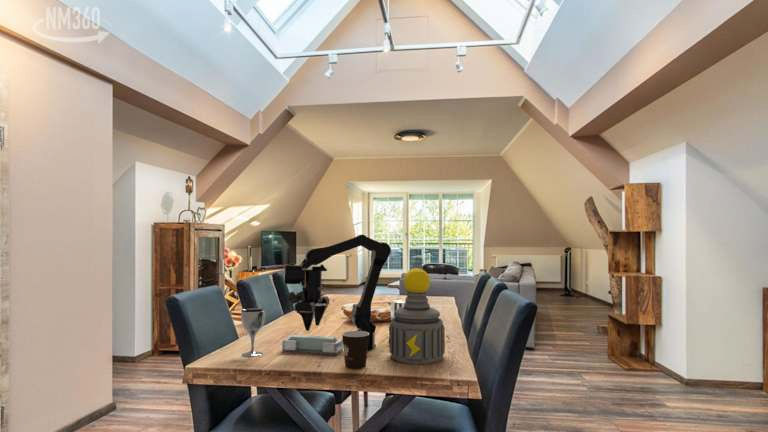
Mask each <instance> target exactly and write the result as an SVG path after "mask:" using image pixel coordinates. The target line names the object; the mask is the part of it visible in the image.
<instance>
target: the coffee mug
mask: <svg viewBox="0 0 768 432" xmlns="http://www.w3.org/2000/svg"><path fill="white" fill-rule="evenodd" d="M341 335H342V338H341V339H343V356H344V367H345V368H346V369H349V370H361V369H364V368H366V366H367V365H366V364H367V360H368V359H367V357H368V351H369V350H368V342H369V333H368V332H364V331H357V330H350V331H349V330H348V331H345V332H343V333H341Z"/></svg>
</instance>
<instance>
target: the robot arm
mask: <svg viewBox="0 0 768 432" xmlns="http://www.w3.org/2000/svg"><path fill="white" fill-rule="evenodd" d="M358 247H362V248H365V249H366V250H368V251H369V252H371V253H370V265H369V269H368V272H367V276H366V279H365V283H364V285H363V289H362V293H361V295H360V299H359V301H358V303H357V304H355V303H353V304H352V309H351V312H350V313H349V315H350V320H351V321H352V323H353V324H354V325H355V326H356V329H357V330H356V331H364V332H368V333H369V342H368V350H367V351H373V349H374V348H375V347H377V344H376V343H375V342H376V341H375V340H376V339H375V338H376V336H375V334H376V333H375V332H376V328H377V326H376V325H375V324H374V323H373V322H372V321H371V318H372V303H373V298H374V295H375V292H376V289H377V285H378V282H379V278H380V276H381V272H382V268H383V267H384V266H385V264H386V262H387V261H388V260H389V259H388V258H389V257H390V254H391V252H392V250H391V246H390V245H389V244H388V243H387V242H383V241H380V242H379V241H377V240H374V239H373V238H371V237H369V236H367V235H365V234H358V235H356V236H354V237H351V238H347V239H346V240H343V241H340V242H337V243H334V244H331V245H327V246H321V247H314V248H309V249H308V250H307V251H306V252H305V254H304V259H303V260H302V261H301V263H300V264H298V265H297V264H295V265H290V264H285V265H284V273H283V284H284V285H301V282H305V283H304V286H303V287H302V290H301V291H299V292H296V291H295V290H294V291H291V292H289V294H288V298H287V301H289V302H290V304H291V305H294V312H296V313H297V314H298V315H300V316H301V318H302V322H303V325H304V328H305V331H307V332H309V331H310V330H311V326H312V323H313V321H314V322H315V326H316V327H317V326H319V325H320V323H321V321H322V319H323V317H324V315H325V313H326V310H327V308H328V307H329V305H330V298H329V297H328V296H325V295H322V291H323V290H324V286H323V285H322V272H327V271H328V269H327V268H326V267H325V266H324V264H321V263H323V262H325V261H326V260H329V258H332V257H333V256H335V255H338V254H341V253H345V252H347V251H349V250H352V249H355V248H358ZM317 265H319V266H317ZM310 267H311V269H308V268H310ZM304 275H305V276H304ZM304 277H305V278H304Z"/></svg>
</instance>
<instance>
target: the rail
mask: <svg viewBox="0 0 768 432" xmlns="http://www.w3.org/2000/svg"><path fill="white" fill-rule="evenodd" d="M289 337H290V340H293V341H297V349H311V350H323V343H324V342H327V343H335V341H336V339H337V338H336V336H335V337H334V336H322V335H321V336H320V335H319V336H317V335H305V334H303V335H299V334H293V335H290V336H289Z"/></svg>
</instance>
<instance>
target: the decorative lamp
mask: <svg viewBox="0 0 768 432" xmlns="http://www.w3.org/2000/svg"><path fill="white" fill-rule="evenodd" d="M403 285H404V288H405V290H406V291H407V293H406V296H407V297H405V300H404V301H406V303H405V304H404V307H401V308H399V309H397V310H395V311H394V316H396V317H394V318H392V319H391V318H390V320H391V322H390V324H389V326H388V332H389V333H388V335H389V336H388V346H389V354H391V355H390V356H391V358H392V359H393V360H394V361H397V362H399V363H403V364H409V365H430V364H434V363H437V362H438V363H439V362H440V361H441V360H442V359H443V356H444V355H445V354H446V353H445V352H446V336H445V335H446V328H445V325H444V324H443V323H444V321H443V320H442V319H441V318H439V317H440V316H441V313H440V311H439V310H438V309H436V308H434V307H431V306H430V304H429V299H428V297H427V296H428V294H427V291H428V290H429V289H430V286H431V279H430V276H429V274H428V273H427V271H425V270H424V269H422V268H419V267H417V268H416V267H415V268H412V269H409V270H408V271H407V272H406V273H405V275H404V277H403Z"/></svg>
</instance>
